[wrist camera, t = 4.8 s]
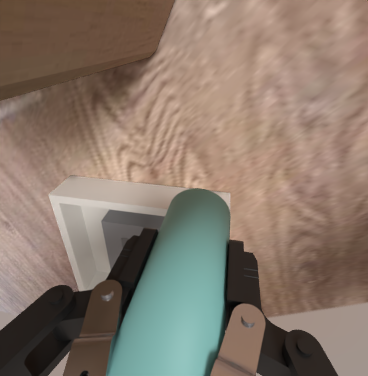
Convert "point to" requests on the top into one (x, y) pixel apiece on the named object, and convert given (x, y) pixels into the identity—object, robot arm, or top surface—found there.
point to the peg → (179, 294)
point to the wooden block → (73, 39)
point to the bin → (106, 220)
